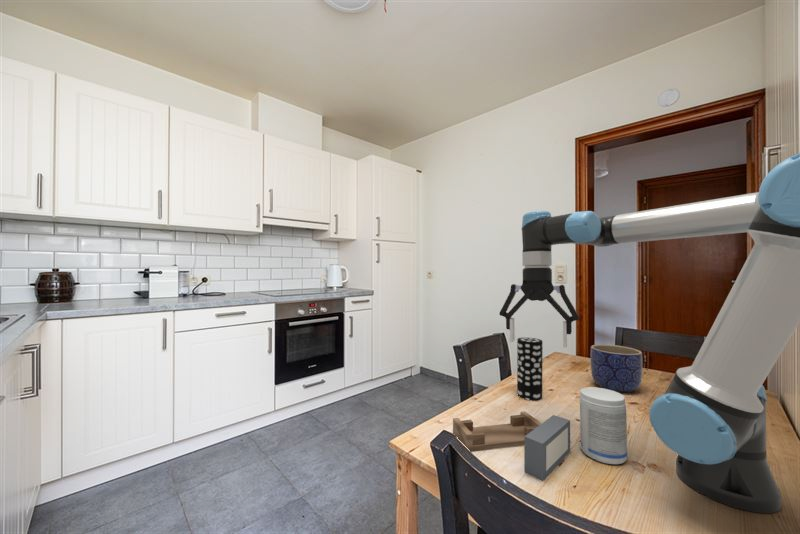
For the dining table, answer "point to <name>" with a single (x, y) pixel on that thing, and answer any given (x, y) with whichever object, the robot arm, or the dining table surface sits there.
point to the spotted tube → (529, 368)
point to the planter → (616, 367)
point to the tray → (495, 432)
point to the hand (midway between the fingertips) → (537, 343)
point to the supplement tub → (603, 425)
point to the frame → (546, 447)
